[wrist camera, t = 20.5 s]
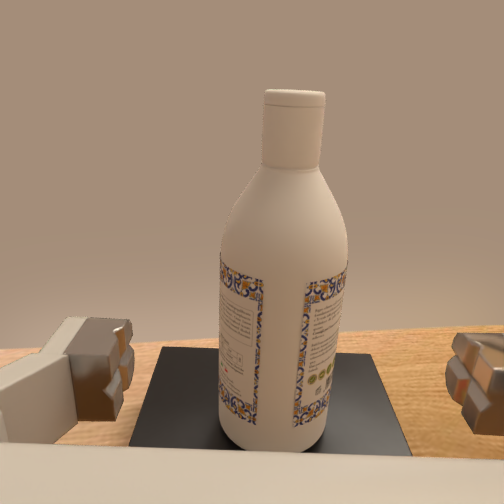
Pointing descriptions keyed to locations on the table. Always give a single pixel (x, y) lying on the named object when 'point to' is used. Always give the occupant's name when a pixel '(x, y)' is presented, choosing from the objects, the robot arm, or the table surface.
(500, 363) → the robot arm
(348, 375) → the platform
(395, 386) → the table surface
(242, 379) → the bath foam
